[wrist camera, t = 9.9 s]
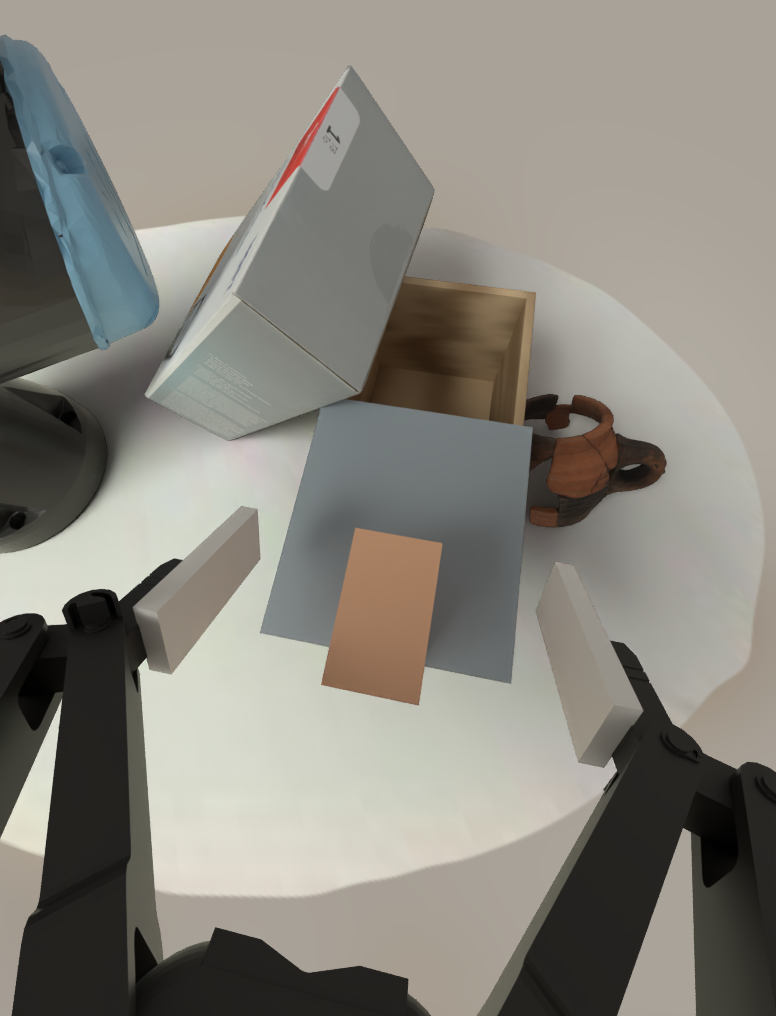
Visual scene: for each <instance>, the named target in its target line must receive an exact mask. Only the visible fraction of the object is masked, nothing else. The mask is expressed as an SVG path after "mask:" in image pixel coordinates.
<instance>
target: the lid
mask: <svg viewBox="0 0 776 1016" xmlns="http://www.w3.org/2000/svg"><path fill="white" fill-rule="evenodd" d="M532 431H533V427H527V426H521V425H514V424H507V423H501V422H494V421H487V420H481V419H474V418H467V417H461V416H454V415H448V414H441V413H434V412H428V411H421V410H414V409H408V408H401V407H394V406H388V405H381V404H375V403H368V402H361V401H355V400H348V399H343V400H340V401H338V402H335V403H332V404H329V405H327V406H324V407H321V409H320V413H319V417H318V420H317V424H316V428H315V432H314V435H313V439H312V443H311V446H310V450H309V454H308V457H307V461H306V465H305V468H304V472H303V476H302V479H301V483H300V487H299V491H298V494H297V498H296V502H295V505H294V509H293V513H292V516H291V520H290V524H289V527H288V531H287V535H286V539H285V542H284V546H283V550H282V553H281V557H280V561H279V564H278V568H277V572H276V575H275V579H274V583H273V586H272V590H271V594H270V598H269V601H268V605H267V609H266V612H265V616H264V620H263V623H262V627H261V631H260V633H263V634H268V635H273V636H278V637H283V638H288V639H293V640H298V641H303V642H307V643H312V644H317V645H322V646H327V647H329V651H328V656H327V660H326V665H325V669H324V674H323V679H322V683H321V685H324V686H329V687H334V688H339V689H343V690H348V691H353V692H358V693H362V694H367V695H372V696H377V697H381V698H386V699H391V700H395V701H400V702H405V703H410V704H414V705H419V700H420V693H421V686H422V680H423V673H424V666H426V667H431V668H436V669H441V670H446V671H450V672H455V673H460V674H465V675H470V676H475V677H480V678H485V679H490V680H495V681H500V682H505V683H510V684H511V677H512V666H513V654H514V642H515V630H516V619H517V607H518V595H519V584H520V572H521V560H522V548H523V537H524V525H525V513H526V501H527V490H528V478H529V466H530V455H531V443H532Z"/></svg>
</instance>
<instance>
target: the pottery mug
mask: <svg viewBox="0 0 776 1016" xmlns="http://www.w3.org/2000/svg"><path fill="white" fill-rule="evenodd" d="M557 400H558V395H554V394H547V395H541V396H537V397H533V398H530V399H528V400H526V405H525V416H524V421H525V420H530V419H545V422H546V424H547V426H548V428H549V429H550V430H555V429H562V428H565V427H568V425H569V423H570V420H569V414H570V413H575V414H579V415H583V416H587V417H589V418H592V419H594V420H595V421H597V422H599V423H600V424H599V425H598V426H597V427H596V428H595V429H593V430H592V431H590V432H587V433H585V434H583V435H578V436H574V437H566V438H550V437H544V436H539V435H536V434H533V433H532V443H531V455H530V466H529V473H530V471H531V469H534V468H535V467H536V466H538V465H539V464H541V463H542V462H544V461H547V460H548V459H552V462H551V467H550V471H549V475H548V477H547V480H546V484H547V486H548V489H549V490H550V491H551V492H553V493H556V494H558V501H559V505H558V507H557V508H547V507H540V506H535V505H534V506H532V507H531V508H530V523H532V524H535V525H538V526H545V527H563V526H568V525H572V524H575V523H577V522H579V521H581V520H583V519H584V518H585V517H586V516H587V515H588V514H589V513H590V511H591V510H592V509H593V508H594V507H595V506H596V505H597V504H598V503H599V502H601V500H602V499H603V498H604V497H606V496H607V495H609V494H611V493H615V492H622V491H632V490H637V489H641V488H644V487H647V486H649V485H651V484H653V483H655V482H656V481H657V480H658V479H659V478H660V477H661V475H662V474H664V473H665V467H666V464H667V462H666V459H665V456H664V453H663V452H662V451H661V450H660V449H659V448H658V447H657V446H655V445H653V444H651V443H647V442H643V441H637V440H631V439H627V438H625V437H623V436H622V435H620V434H615V432H614V431H613V427H612V424H613V421H614V417H613V415H612V412H611V411H610V409H609V408H608V407H606V405H604V404H603V403H601V402H599V401H597V400H595V399H592V398H589V397H586V396H582V395H574V397H573V400H572V404H571V405H567V404H561V405H556V403H557ZM632 464H641V465H640V466H638V467H636V468H633V469H630V470H622V468H623V467H625V466H628V465H632Z"/></svg>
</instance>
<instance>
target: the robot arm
mask: <svg viewBox="0 0 776 1016" xmlns="http://www.w3.org/2000/svg"><path fill="white" fill-rule="evenodd" d="M158 311H159V296H158V291H157V287H156V284H155V281H154V278H153V275H152V272H151V270H150V267H149V265H148V262H147V260H146V257H145V255H144V252H143V250H142V248H141V245H140V243H139V241H138V238H137V236H136V233H135V231H134V229H133V227H132V224H131V222H130V220H129V218H128V216H127V213H126V211H125V209H124V207H123V205H122V202H121V200H120V198H119V196H118V194H117V192H116V189H115V188H114V185H113V183H112V181H111V179H110V177H109V175H108V173H107V171H106V168H105V166H104V165H103V162H102V161H101V158H100V156H99V155H98V152H97V150H96V148H95V146H94V144H93V142H92V140H91V139H90V136H89V135H88V133H87V131H86V129H85V127H84V125H83V123H82V121H81V119H80V117H79V115H78V113H77V112H76V110H75V108H74V106H73V104H72V103H71V101H70V99H69V97H68V95H67V94H66V92H65V90H64V88H63V87H62V86H61V85H60V83H59V82H58V80H57V78H56V77H55V75H54V73H53V71H52V69H51V67H50V65H49V63H48V62H47V60H46V59H45V57H44V56H43V55H42V54H41V52H39V50H38V49H37V48H36V47H35V46H33V45H32V44H30V43H29V42H27V41H22V40H12V39H11V38H10V37H8V36H7V35H2V36H0V553H8V552H14V551H19V550H22V549H26V548H29V547H31V546H34V545H36V544H39V543H41V542H43V541H45V540H47V539H49V538H50V537H52V536H54V535H55V534H57V533H58V532H60V531H61V530H62V529H64V528H65V527H66V526H67V525H69V524H70V523H71V522H72V521H73V520H74V519H75V518H76V517H77V516H78V515H79V514H80V513H81V512H82V511H83V509H84V508H85V507H86V506H87V504H88V503H89V502H90V500H91V498H92V497H93V495H94V494H95V492H96V490H97V488H98V486H99V484H100V481H101V479H102V476H103V472H104V468H105V463H106V442H105V437H104V434H103V431H102V429H101V427H100V425H99V423H98V422H97V420H96V419H95V418H94V416H93V415H92V414H91V413H90V412H89V411H87V410H86V409H85V408H83V407H82V406H80V405H79V404H78V403H76V402H75V401H73V400H72V399H70V398H69V397H67V396H66V395H64V394H62V393H60V392H58V391H56V390H54V389H52V388H49V387H46V386H43V385H40V384H37V383H34V382H31V381H27V380H24V379H21V378H18V377H21V376H24V375H26V374H29V373H32V372H35V371H37V370H40V369H43V368H45V367H48V366H51V365H53V364H56V363H59V362H62V361H64V360H67V359H70V358H72V357H75V356H78V355H81V354H83V353H86V352H89V351H91V350H94V349H97V348H99V349H101V350H105V349H107V348H109V347H110V343H112V342H114V341H116V340H119V339H121V338H123V337H126V336H128V335H130V334H133V333H135V332H137V331H140V330H142V329H144V328H146V327H148V326H149V325H150V324H151V323H153V321H154V320H155V319H156V317H157V314H158ZM259 560H260V544H259V526H258V509H254V508H248V507H243V506H241V507H240V508H239V509H238V510H237V511H236V512H235V513H233V514H232V515H231V516H230V517H229V518H228V519H227V520H226V521H225V522H224V523H223V524H222V525H221V526H220V527H218V528H217V529H216V530H215V531H214V532H213V533H212V534H211V535H210V536H209V537H208V538H207V539H206V540H204V541H203V542H202V543H201V544H200V545H199V546H198V547H197V548H196V549H195V550H194V551H193V552H192V553H190V554H189V555H188V556H187V557H186V558H185V559H184V560H179V559H172V560H170V561H168V562H166V563H164V564H162V565H160V566H159V567H158V568H157V569H155V570H154V571H153V572H152V573H151V574H150V576H147V577H146V578H145V579H144V580H143V581H142V583H141V584H138V585H137V586H136V587H135V588H134V589H133V590H131V591H130V592H129V593H128V594H127V595H126V596H125V597H123V598H122V599H121V600H120V601H118V598H117V596H116V593H115V592H113V591H111V590H106V589H97V590H90V591H87V592H84V593H81V594H79V595H77V596H75V597H74V598H72V599H71V600H69V601H68V602H67V603H66V604H65V605H64V607H63V609H62V612H63V615H64V617H65V620H66V622H67V624H64V625H47V624H46V621H45V619H44V618H43V616H41V615H39V614H36V613H26V614H21V615H17V616H13V617H11V618H8V619H6V620H3V621H2V622H0V838H1V835H2V833H3V831H4V828H5V826H6V824H7V822H8V819H9V817H10V815H11V813H12V810H13V808H14V806H15V804H16V801H17V799H18V797H19V795H20V792H21V790H22V788H23V786H24V783H25V781H26V779H27V776H28V774H29V772H30V770H31V767H32V765H33V763H34V761H35V758H36V756H37V754H38V752H39V749H40V747H41V745H42V743H43V740H44V738H45V736H46V734H47V731H48V729H49V727H50V724H51V722H52V720H53V718H54V715H55V713H56V711H57V709H58V706H59V704H60V702H61V700H62V706H61V715H60V724H59V733H58V741H57V750H56V759H55V768H54V777H53V786H52V794H51V803H50V812H49V821H48V830H47V838H46V847H45V856H44V865H43V874H42V882H41V892H40V898H39V903H38V906H37V909H36V910H35V911H34V912H33V914H31V915H30V917H29V918H28V920H27V923H26V926H25V928H24V933H23V938H22V943H21V950H20V957H19V965H18V972H17V980H16V987H15V995H14V1002H13V1010H12V1016H431V1015H430V1014H429V1012H428V1011H427V1010H426V1009H425V1008H424V1007H423V1006H422V1005H421V1004H420V1003H419V1002H418V1001H417V1000H416V999H414V998H413V997H412V996H410V995H409V994H408V979H407V978H403V977H400V976H395V975H392V974H388V973H385V972H381V971H377V970H373V969H370V968H366V967H362V966H356V967H348V968H341V969H334V970H326V971H319V972H312V973H307V972H304V971H302V970H300V969H299V968H298V967H296V966H295V965H294V964H292V963H291V962H290V961H288V960H287V959H286V958H285V957H283V956H282V955H281V954H279V953H278V952H277V951H276V950H274V949H273V948H272V947H270V946H269V945H268V944H266V943H265V942H264V941H263V940H261V939H258V938H254V937H250V936H246V935H242V934H238V933H235V932H231V931H228V930H224V929H220V928H215V930H214V932H213V935H212V938H211V940H210V941H207V942H201V943H198V944H195V945H192V946H189V947H187V948H185V949H183V950H181V951H178V952H177V953H175V954H173V955H172V956H170V957H169V958H167V959H165V960H164V961H163V951H162V941H161V934H160V928H159V923H158V918H157V912H156V903H155V888H154V874H153V860H152V845H151V831H150V816H149V802H148V787H147V773H146V758H145V744H144V730H143V715H142V701H141V686H140V673H139V670H138V667H139V666H140V664H141V663H142V662H143V661H144V660H145V659H146V658H147V662H148V665H149V669H150V670H153V671H158V672H162V673H167V674H172V673H173V672H174V670H175V669H176V668H177V667H178V665H179V664H180V663H181V661H182V660H183V659H184V657H185V656H186V655H187V654H188V652H189V651H190V650H191V648H192V647H193V646H194V644H195V643H196V642H197V641H198V639H199V638H200V637H201V635H202V634H203V633H204V632H205V630H206V629H207V628H208V626H209V625H210V624H211V622H212V621H213V620H214V619H215V617H216V616H217V615H218V613H219V612H220V611H221V609H222V608H223V607H224V606H225V604H226V603H227V602H228V600H229V599H230V598H231V596H232V595H233V594H234V593H235V591H236V590H237V589H238V587H239V586H240V585H241V583H242V582H243V581H244V580H245V578H246V577H247V576H248V574H249V573H250V572H251V570H252V569H253V568H254V567H255V565H256V564H257V563H258V561H259ZM536 613H537V617H538V620H539V624H540V627H541V631H542V635H543V638H544V642H545V645H546V649H547V652H548V656H549V660H550V663H551V667H552V670H553V674H554V678H555V681H556V685H557V688H558V692H559V695H560V699H561V703H562V706H563V710H564V713H565V717H566V720H567V724H568V728H569V731H570V735H571V738H572V742H573V745H574V749H575V753H576V756H577V760H578V762H580V763H584V764H589V765H594V766H598V767H603V768H604V767H605V766H606V764H607V763H608V761H609V760H610V759H611V757H613V760H614V763H615V766H616V768H617V772H616V773H615V774H614V776H613V777H612V779H611V780H610V781H609V783H608V784H607V785H606V787H605V788H604V791H605V792H604V793H603V795H602V797H601V799H600V801H599V802H598V804H597V806H596V808H595V810H594V811H593V813H592V815H591V817H590V818H589V820H588V822H587V824H586V825H585V827H584V829H583V831H582V833H581V834H580V836H579V838H578V840H577V841H576V843H575V845H574V847H573V848H572V850H571V852H570V854H569V856H568V857H567V859H566V861H565V863H564V865H563V866H562V868H561V870H560V872H559V874H558V875H557V877H556V879H555V881H554V882H553V884H552V886H551V888H550V889H549V891H548V893H547V895H546V896H545V898H544V900H543V902H542V904H541V905H540V907H539V909H538V911H537V912H536V914H535V916H534V918H533V920H532V921H531V923H530V925H529V927H528V928H527V930H526V932H525V934H524V936H523V937H522V939H521V941H520V943H519V944H518V946H517V948H516V950H515V951H514V953H513V955H512V957H511V959H510V961H509V962H508V964H507V966H506V967H505V969H504V971H503V973H502V975H501V976H500V978H499V980H498V982H497V983H496V985H495V987H494V989H493V991H492V992H491V994H490V996H489V998H488V999H487V1001H486V1002H485V1004H484V1006H483V1007H482V1009H481V1010H480V1012H479V1013H478V1015H477V1016H617V1014H618V1011H619V1008H620V1005H621V1003H622V1000H623V997H624V994H625V991H626V988H627V986H628V983H629V980H630V977H631V974H632V971H633V969H634V966H635V963H636V960H637V957H638V954H639V951H640V949H641V946H642V943H643V940H644V937H645V934H646V932H647V929H648V926H649V923H650V920H651V917H652V914H653V912H654V909H655V906H656V903H657V900H658V897H659V894H660V892H661V889H662V886H663V883H664V880H665V877H666V875H667V872H668V869H669V866H670V863H671V860H672V858H673V855H674V852H675V849H676V846H677V843H678V840H679V837H680V835H681V832H682V829H683V828H685V829H686V830H688V831H690V832H691V848H692V884H693V919H694V950H695V951H694V954H695V985H696V986H695V990H696V1016H776V772H775V771H773V770H772V769H770V768H768V767H766V766H763V765H761V764H759V763H754V762H747V763H745V764H743V765H741V766H740V768H738V769H735V768H733V767H731V766H729V765H727V764H724V763H722V762H720V761H718V760H715V759H714V758H712V757H710V756H708V755H706V754H704V753H703V752H702V750H701V748H700V747H699V745H698V744H697V743H696V741H695V740H694V739H693V738H692V737H691V736H690V735H688V734H687V733H686V732H685V731H684V730H682V729H680V728H679V727H677V726H675V725H673V724H672V722H671V720H670V718H669V717H668V715H667V713H666V711H665V709H664V707H663V705H662V703H661V702H660V700H659V698H658V696H657V694H656V692H655V690H654V688H653V687H652V685H651V683H649V679H648V677H647V675H646V673H645V672H643V668H642V666H641V664H640V662H639V660H638V658H637V657H636V655H635V654H634V653H633V652H632V651H631V650H630V649H629V648H628V647H627V646H626V645H625V644H624V643H620V642H614V641H610V640H609V638H608V636H607V634H606V631H605V629H604V627H603V625H602V623H601V621H600V619H599V617H598V615H597V613H596V611H595V608H594V606H593V604H592V602H591V600H590V598H589V596H588V594H587V592H586V590H585V588H584V586H583V583H582V581H581V579H580V577H579V575H578V573H577V571H576V569H575V567H574V565H571V564H565V563H560V562H555V563H554V566H553V568H552V571H551V573H550V576H549V578H548V581H547V583H546V586H545V589H544V591H543V594H542V596H541V599H540V601H539V604H538V606H537V609H536Z"/></svg>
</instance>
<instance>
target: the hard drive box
mask: <svg viewBox="0 0 776 1016" xmlns="http://www.w3.org/2000/svg"><path fill="white" fill-rule="evenodd" d="M433 195H434V188H433V186H432V184H431V183H430V181H429V180H428V178H427V177H426V176H425V174H424V172H423V171H422V169H421V168H420V166H419V165H418V163H417V162H416V160H415V159H414V157H413V156H412V155H411V153H410V152H409V150H408V148H407V147H406V145H405V144H404V143H403V141H402V140H401V138H400V137H399V135H398V134H397V132H396V131H395V129H394V128H393V126H392V125H391V123H390V122H389V120H388V119H387V117H386V116H385V114H384V113H383V112H382V110H381V108H380V107H379V105H378V104H377V102H376V101H375V99H374V98H373V97H372V95H371V94H370V92H369V90H368V89H367V88H366V86H365V84H364V83H363V81H362V80H361V78H360V77H359V76H358V74H357V73H356V72H355V70H354V69H353V68H352V66H350V65H348V67H347V69H346V71H345V72H344V74H343V75H342V77H341V78H340V80H339V81H338V83H337V85H336V86H335V87H334V89H333V90H332V92H331V93H330V95H329V96H328V98H327V99H326V101H325V102H324V104H323V105H322V107H321V108H320V109H319V111H318V112H317V114H316V116H315V117H314V119H313V120H312V121H311V123H310V124H309V126H308V127H307V129H306V130H305V132H304V133H303V135H302V136H301V138H300V139H299V141H298V142H297V143H296V145H295V146H294V148H293V149H292V151H291V152H290V154H289V155H288V157H287V158H286V160H285V161H284V163H283V164H282V165H281V167H280V168H279V170H278V172H277V173H276V174H275V176H274V177H273V178H272V180H271V181H270V183H269V184H268V186H267V187H266V188H265V190H264V191H263V193H262V194H261V196H260V197H259V199H258V200H257V201H256V203H255V204H254V206H253V207H252V209H251V210H250V211H249V213H248V214H247V216H246V217H245V219H244V220H243V222H242V223H241V225H240V226H239V228H238V229H237V231H236V232H235V233H234V235H233V236H232V238H231V239H230V241H229V242H228V244H227V246H226V247H225V249H224V250H223V252H222V253H221V255H220V256H219V258H218V260H217V262H216V263H215V265H214V267H213V269H212V271H211V273H210V274H209V276H208V278H207V280H206V282H205V284H204V285H203V287H202V289H201V291H200V293H199V295H198V297H197V298H196V300H195V302H194V304H193V306H192V307H191V309H190V311H189V313H188V315H187V317H186V318H185V320H184V322H183V324H182V326H181V328H180V329H179V331H178V333H177V335H176V337H175V339H174V341H173V342H172V344H171V346H170V348H169V350H168V351H167V353H166V355H165V357H164V359H163V361H162V363H161V364H160V366H159V368H158V370H157V372H156V374H155V376H154V378H153V380H152V381H151V383H150V385H149V387H148V389H147V391H146V393H145V396H146V397H147V398H149V399H151V400H152V401H154V402H156V403H158V404H160V405H161V406H163V407H165V408H167V409H169V410H171V411H172V412H174V413H176V414H178V415H180V416H182V417H184V418H185V419H187V420H189V421H191V422H193V423H195V424H197V425H199V426H200V427H202V428H204V429H206V430H208V431H210V432H211V433H213V434H215V435H217V436H219V437H221V438H223V439H225V440H227V441H230V440H233V439H236V438H238V437H241V436H244V435H246V434H249V433H252V432H255V431H258V430H261V429H263V428H266V427H269V426H271V425H274V424H277V423H280V422H283V421H285V420H288V419H291V418H294V417H296V416H299V415H302V414H305V413H308V412H310V411H313V410H316V409H318V408H321V407H324V406H327V405H329V404H332V403H335V402H338V401H340V400H343V399H346V398H349V397H351V396H354V395H357V394H360V393H361V392H362V390H363V388H364V386H365V383H366V381H367V378H368V376H369V373H370V370H371V367H372V365H373V362H374V359H375V356H376V354H377V351H378V348H379V345H380V342H381V340H382V337H383V335H384V332H385V329H386V326H387V323H388V320H389V317H390V315H391V312H392V309H393V306H394V304H395V301H396V298H397V296H398V293H399V290H400V288H401V285H402V282H403V279H404V276H405V274H406V271H407V268H408V266H409V263H410V260H411V258H412V255H413V252H414V249H415V247H416V244H417V241H418V239H419V236H420V233H421V231H422V228H423V225H424V222H425V219H426V216H427V213H428V210H429V208H430V204H431V201H432V199H433Z"/></svg>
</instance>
